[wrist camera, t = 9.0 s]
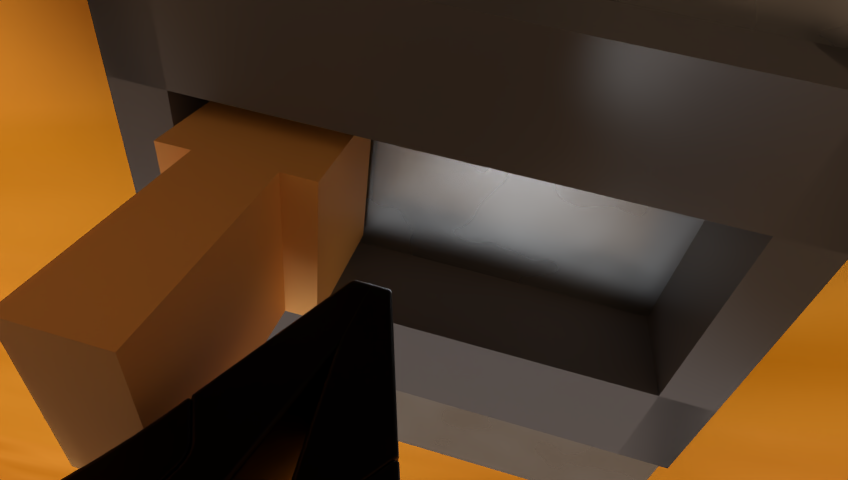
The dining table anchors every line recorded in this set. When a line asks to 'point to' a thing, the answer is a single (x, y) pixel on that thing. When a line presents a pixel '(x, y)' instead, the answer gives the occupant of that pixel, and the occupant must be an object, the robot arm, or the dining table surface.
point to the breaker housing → (542, 179)
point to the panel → (548, 250)
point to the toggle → (186, 273)
